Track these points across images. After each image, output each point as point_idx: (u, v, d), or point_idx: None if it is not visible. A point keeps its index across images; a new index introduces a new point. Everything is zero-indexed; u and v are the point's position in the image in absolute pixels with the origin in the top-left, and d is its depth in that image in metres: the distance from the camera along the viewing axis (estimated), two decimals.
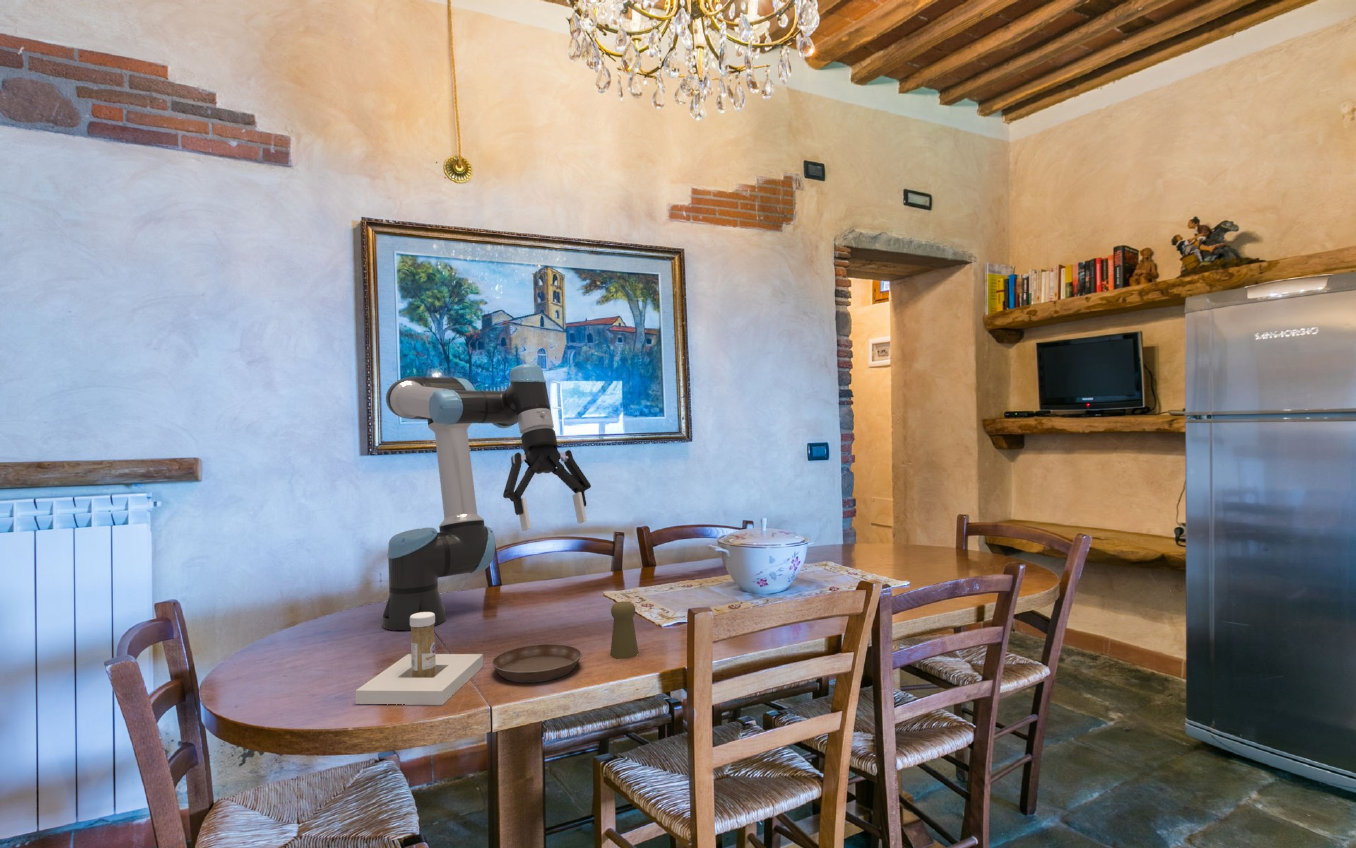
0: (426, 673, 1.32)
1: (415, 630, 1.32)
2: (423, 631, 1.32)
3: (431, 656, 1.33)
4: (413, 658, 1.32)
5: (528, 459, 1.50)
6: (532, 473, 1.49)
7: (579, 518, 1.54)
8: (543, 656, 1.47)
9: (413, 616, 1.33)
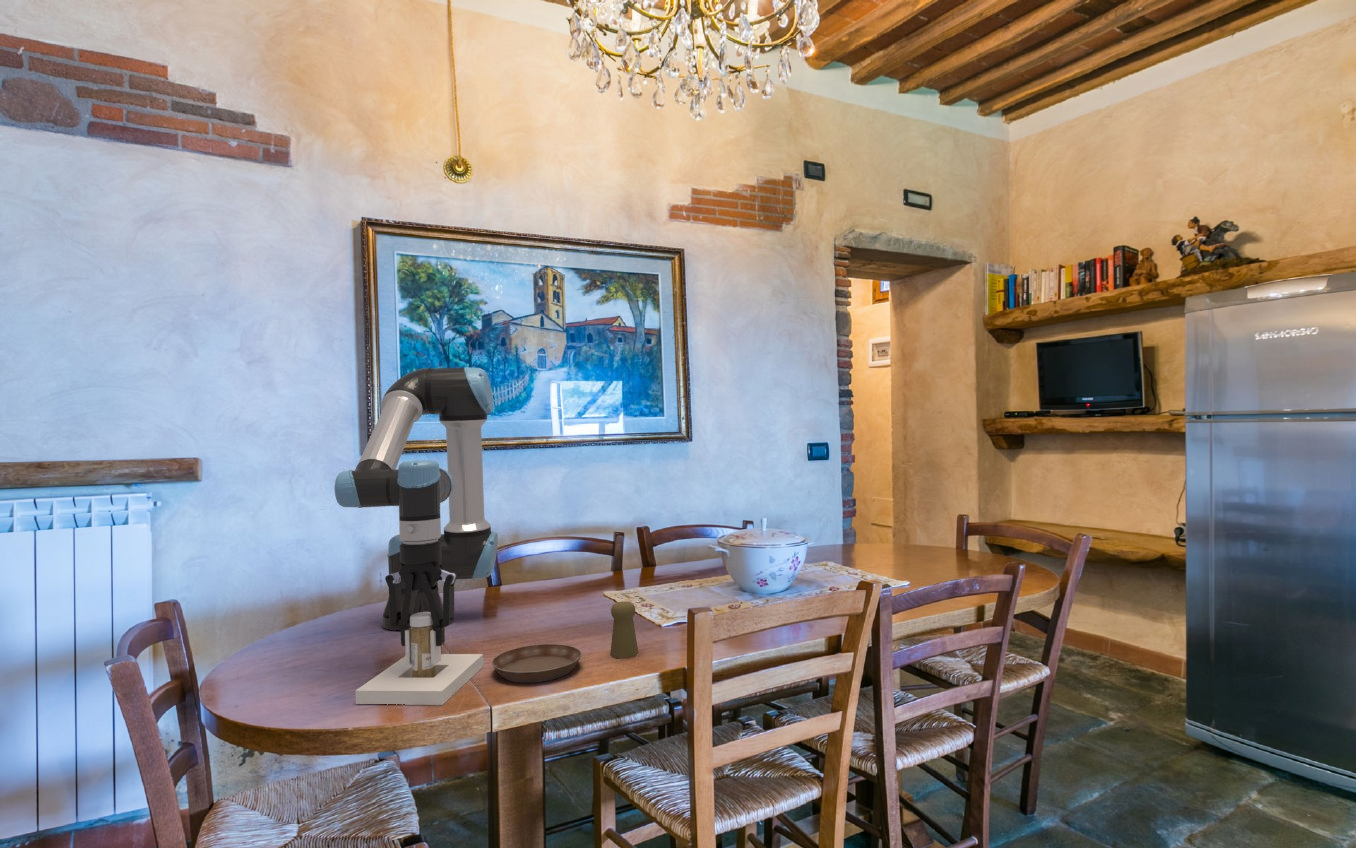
0: (426, 673, 1.32)
1: (415, 630, 1.32)
2: (423, 631, 1.32)
3: None
4: (413, 658, 1.32)
5: None
6: (409, 597, 1.33)
7: None
8: (543, 656, 1.47)
9: (413, 616, 1.33)
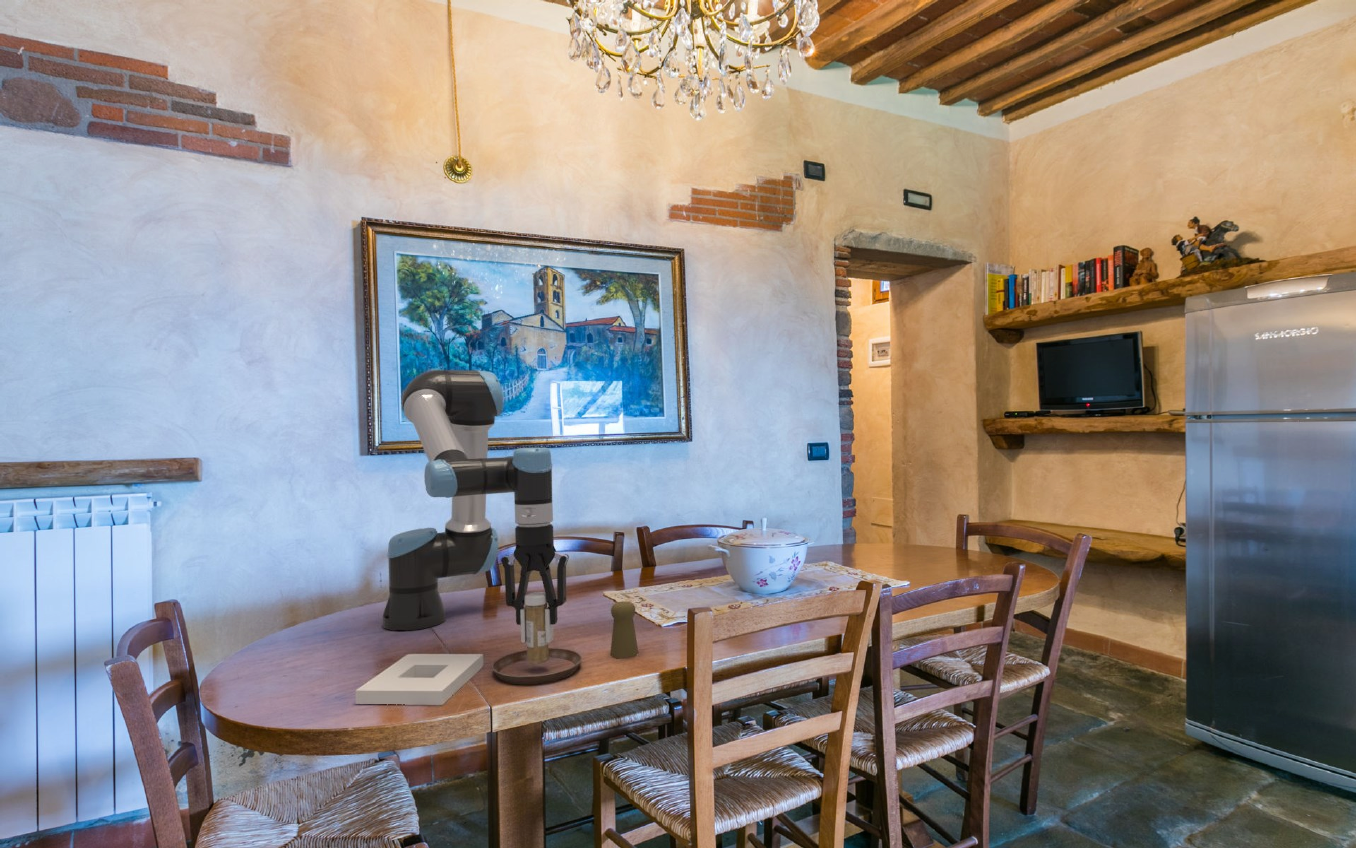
0: (541, 650, 1.38)
1: (530, 608, 1.38)
2: (538, 609, 1.38)
3: (545, 634, 1.39)
4: (529, 635, 1.38)
5: (516, 558, 1.40)
6: (524, 577, 1.39)
7: None
8: None
9: (528, 595, 1.39)
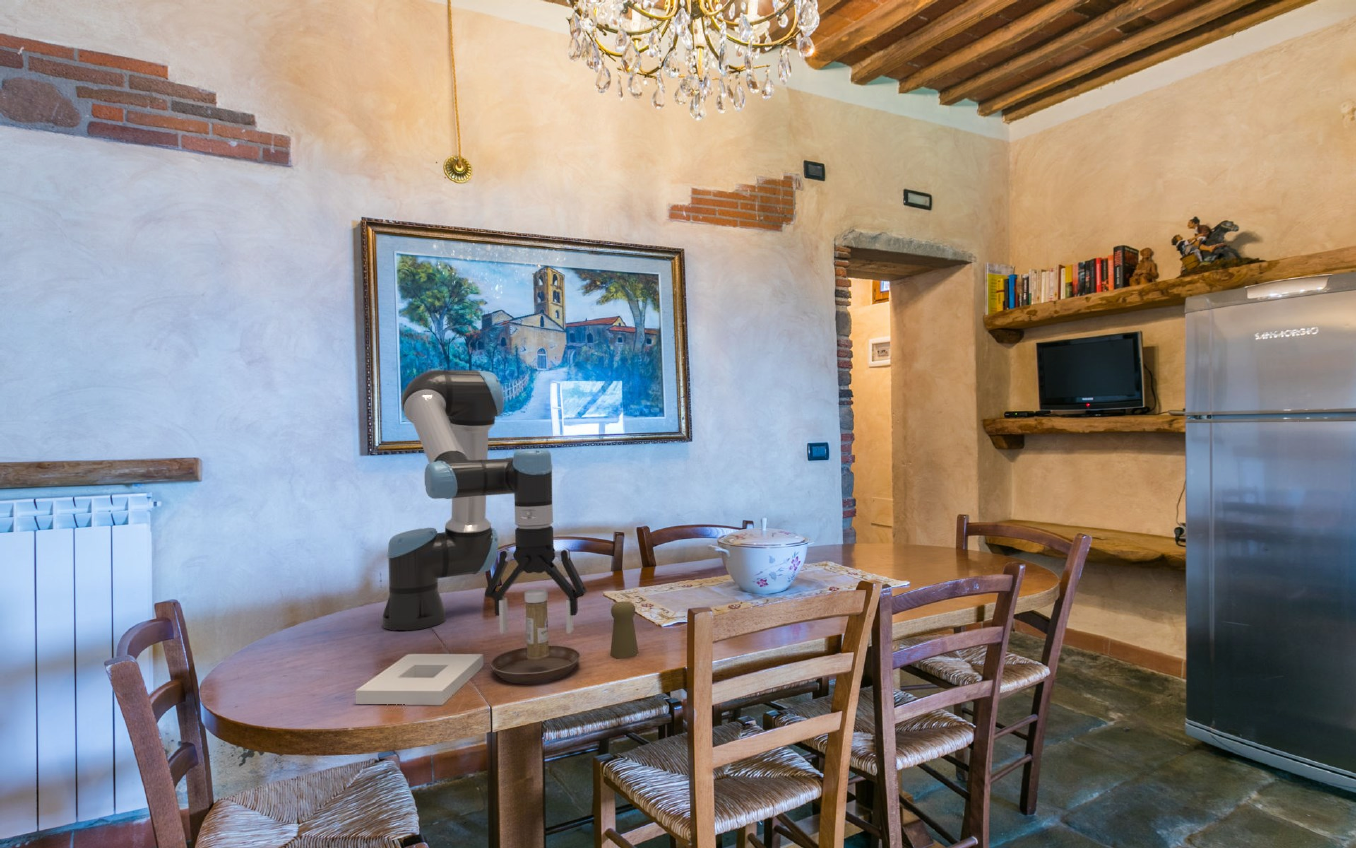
0: (541, 647, 1.38)
1: (530, 605, 1.38)
2: (538, 606, 1.38)
3: (545, 630, 1.39)
4: (529, 632, 1.38)
5: (514, 558, 1.40)
6: (515, 575, 1.39)
7: None
8: None
9: (528, 592, 1.39)
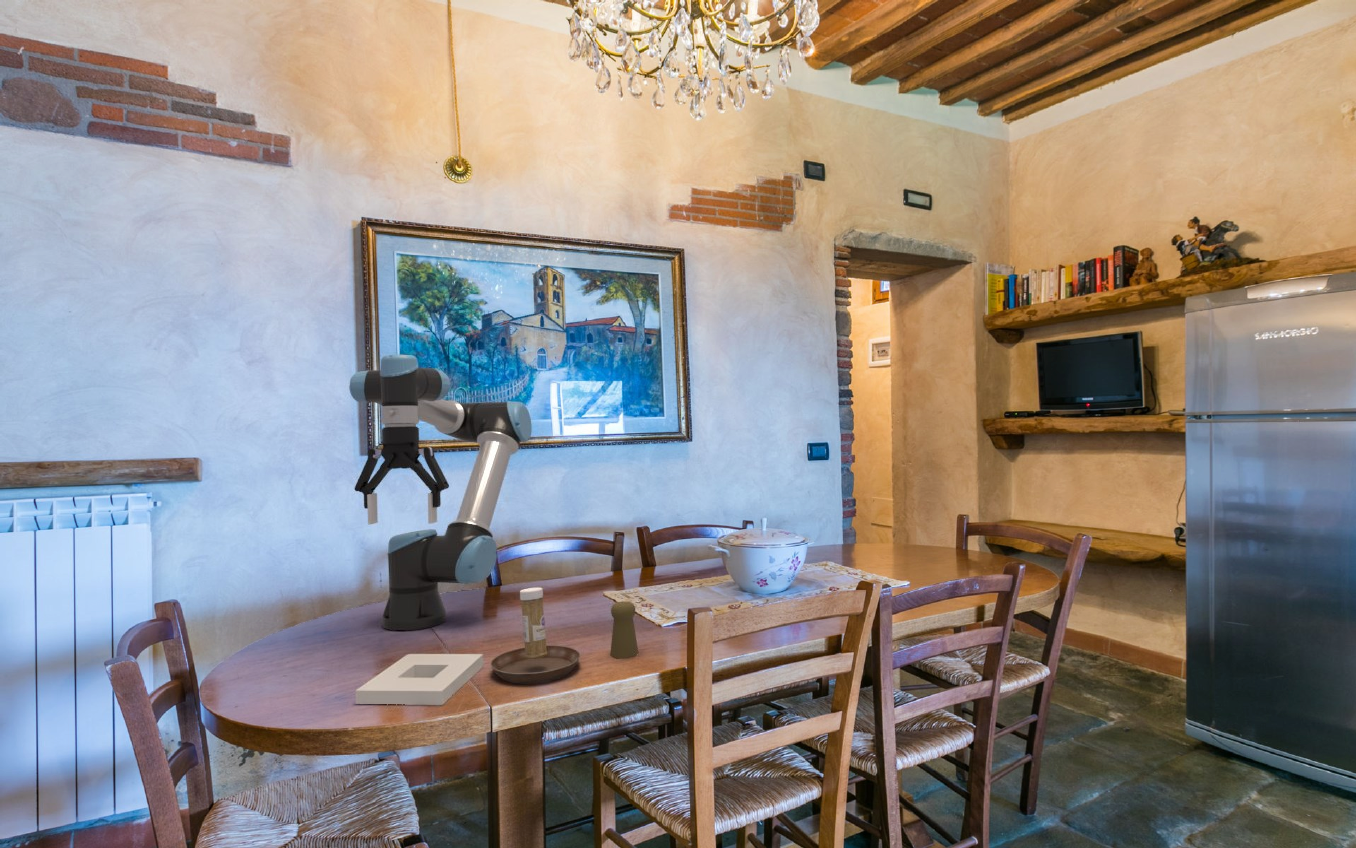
0: (537, 645, 1.38)
1: (525, 603, 1.39)
2: (532, 604, 1.39)
3: (541, 628, 1.39)
4: (524, 630, 1.39)
5: (382, 455, 1.51)
6: (382, 470, 1.51)
7: None
8: (542, 657, 1.47)
9: (523, 590, 1.40)
